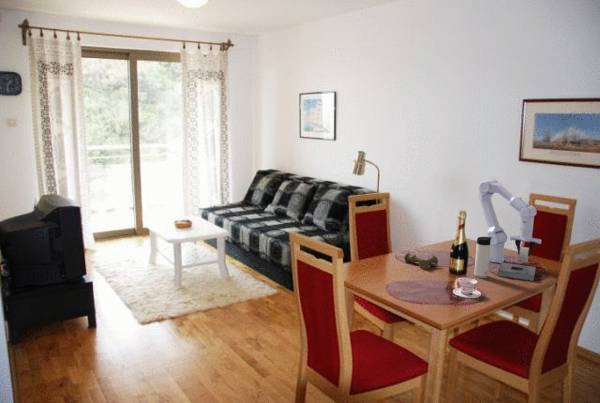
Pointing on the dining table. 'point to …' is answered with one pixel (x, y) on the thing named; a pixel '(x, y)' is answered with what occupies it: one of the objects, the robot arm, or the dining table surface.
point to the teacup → (467, 288)
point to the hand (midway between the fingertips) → (523, 255)
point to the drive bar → (523, 254)
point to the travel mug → (482, 257)
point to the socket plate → (516, 271)
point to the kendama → (422, 261)
